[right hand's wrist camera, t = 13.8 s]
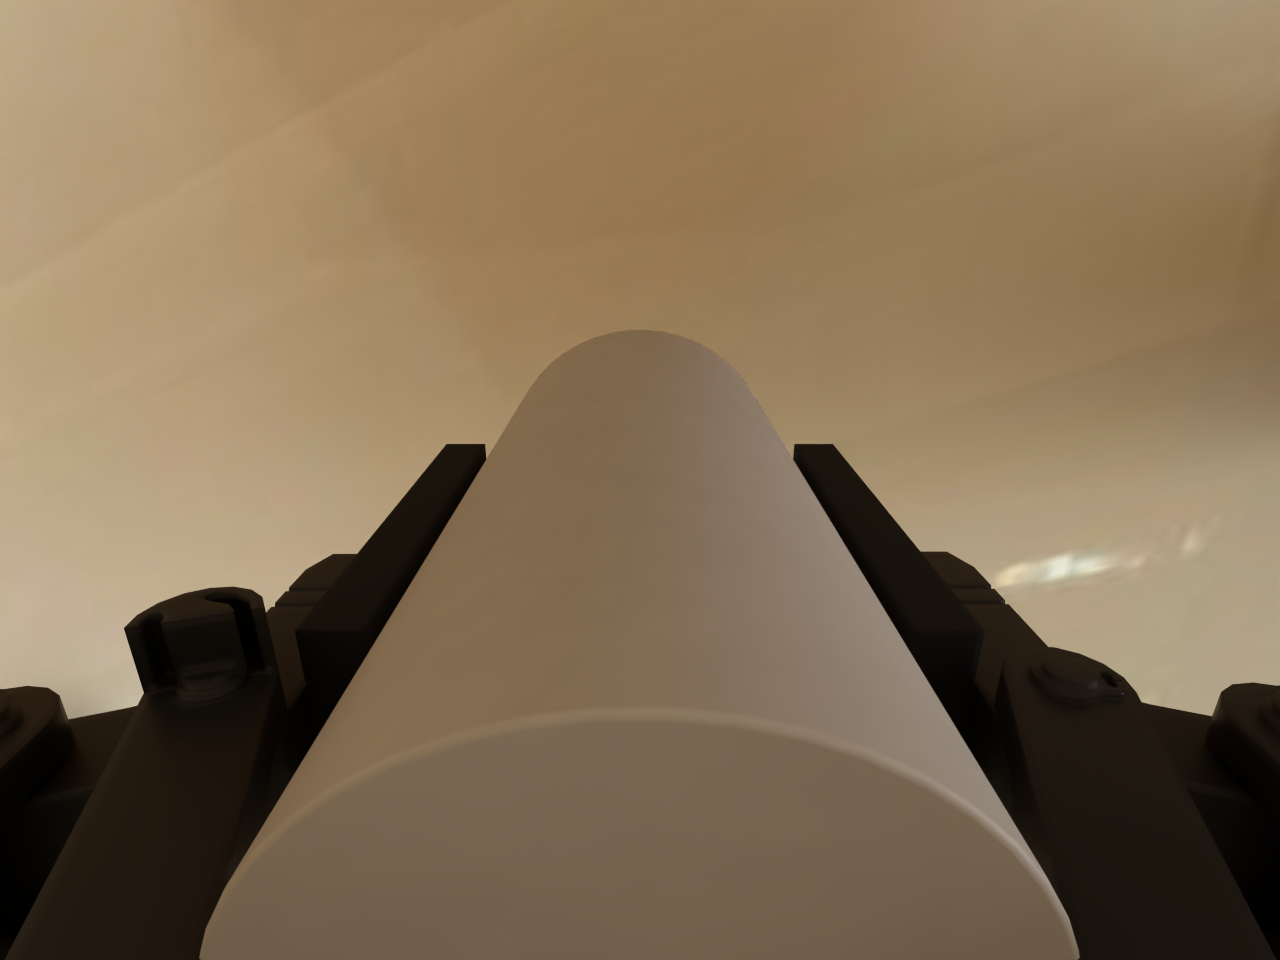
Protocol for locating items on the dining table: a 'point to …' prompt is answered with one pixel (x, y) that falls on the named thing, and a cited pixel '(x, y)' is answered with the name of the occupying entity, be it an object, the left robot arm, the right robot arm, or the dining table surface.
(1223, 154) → the dining table surface
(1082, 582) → the dining table surface
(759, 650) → the can
